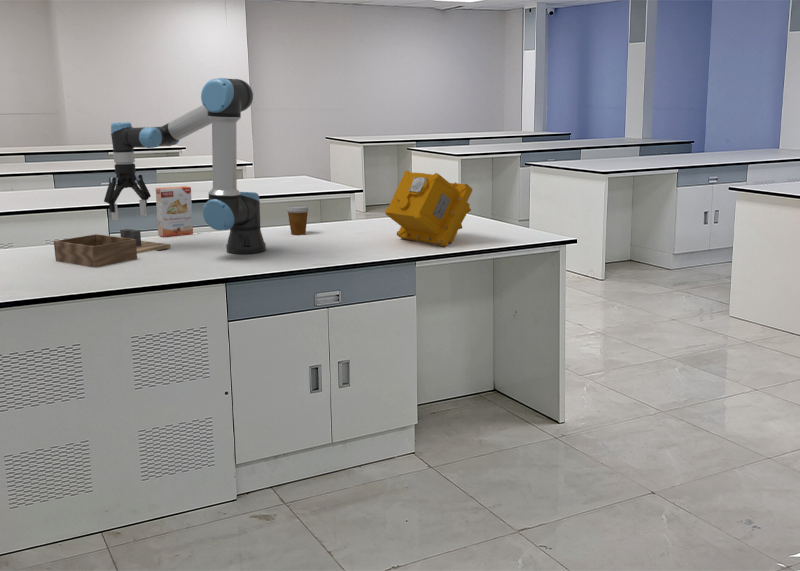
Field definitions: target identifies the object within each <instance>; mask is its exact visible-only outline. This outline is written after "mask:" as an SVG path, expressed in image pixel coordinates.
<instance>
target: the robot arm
mask: <svg viewBox="0 0 800 571" xmlns="http://www.w3.org/2000/svg"><path fill="white" fill-rule="evenodd" d="M200 95H201V96H200V99H201V104H202V105H200V106H197V107H196V108H194V109H192V110H190V111H188V112H186V113H184V114H183V115H181V116H179V117H176V118H175V119H173V120H171V121H169V122H168V123H166V124H164V125H161V126H149V127H148V126H146V127H145V126H144V127H133V126H132V123H131V122H129V121H127V122H123V121H122V122H121V121H120V122H112V123H111V125H110V135H111V142H112V154H113V163H115V164H114V173H115V175H116V177H113V176H112V177H111V176H110V177H109V179H108V182H109V183H108V187H107V189H106V193H105V196H104V198H103V202H104V203H107V204H109V212H110V213H111V220H112V221H113V222H119V212H118V210H119V209H118V203H116V201H117V200H118V198H119V196H120V195H121V193H122V191H123V190H124V189H128V188H131V189H132V190H133V191H134V192H135V194H136V195H137V196H138V197H139V198H140V199H139V210H140V211H139V212H140V217H148V214H147V207H148V200H149V198H151V194H150V191H149V189H148V187H147V186H146V183H145V182H144V178H143V175H142V174H136V172H137V170H136V164H135V162H136V160H135V151H134V148H143V149H145V148H146V149H153V148H159V147H171V146H174V145H177V144H179V142H180V140H182V139H184V138H186V137H187V136H190V135H192V134H193V133H195V132H198V131H199V130H202V129H203V128H204V129H205V127H208V126H209V125H211V136H212V137H211V142H212V143H211V146H212V147H211V148H212V149H211V150H212V152H211V153H212V155H211V156H212V159H211V160H212V188H211V189H210V191H208V200H207V201H206V202H205V204H204V205H203V208H202V217H203V219H204V221H205V223H206V225H208V226H209V227H210V228H212V229H213V230H214V231H215V230H216V231H229V234H228V238H227V243H226V246H225V248H226V250H225V251H226V252H227V253H229V254H235V255H236V254H237V255H238V254H239V255H245V254H246V255H249V254H258V253H262V252H265V251H267V246H266V245H267V244H266V242H265V241H264V237H263V233H262V230H261V211H260V210H261V205H260V204H261V201H260V195H259V194H258V193H257V192H252V191H239V190H238V188H237V187H238V186H237V184H238V183H237V182H238V180H237V179H238V178H237V177H238V176H237V172H238V170H237V164H238V163H237V160H238V157H237V153H238V152H237V123H238V121H240V120H241V116H242V115H241V113H242V112H244V111H246V110H248V109H249V107H251V105H252V103H253V100H254V92H253V89H252V87H251V86H250V85H249V84H248V82H246V81H244V80H242V79H239V78H225V77H218V78H212V79H210V80H208V81H207V82H206V83H205V84H204V86H203V87H202V90H201V92H200Z"/></svg>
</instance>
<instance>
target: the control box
mask: <svg viewBox="0 0 800 571" xmlns="http://www.w3.org/2000/svg"><path fill="white" fill-rule="evenodd" d="M472 192H473V188H472V187H471V186H470V185H469V184H468V183H458V182H456V181H455V182H449V181H448V180H446V179H445V178H444V177H443V176H441V175H440V174H439V173H437V172H435V173H434V174H432V173H423V172H411V171H409V170H405V171H404V172H403V175H402V178H401V180H400V181H399V184H398V186H397V189H395V192H394V194H393V196H392V199H391V201H390V203H389V206H388V207H386V208H385V212H384V213H385V215H386V216H387V217H388V218H390V219H391V220H392V221H394V222H395V223H396V224H397V225H399V226H400V228H399V230H398V231H397V232H396V236H397V237H399V238H401V240H406V241H407V240H408V241H412V242H416V243H423V244H429V245H433V246H439V247H445V248H446V247H448V244H453V242H454V240H455V239H456V236H457V234H458V232H459V230H462V229H463V225H462V223H463V222H464V219H465V217H466V216H467V214H468V213H469V212H471V211H472V209H471V207H470V206H471V205H470V203H469V202H468V201H469V199H470V197H471V195H472Z"/></svg>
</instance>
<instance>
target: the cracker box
mask: <svg viewBox="0 0 800 571" xmlns="http://www.w3.org/2000/svg"><path fill="white" fill-rule="evenodd" d="M155 203H156V204H155V205H156V215H157V216H156V218H157V232H158V233H157V234H158V236H160V237H162V238H168V237H167V236H169V237H177V236H178V237H179V236H185V235H193V234H194V223H193V204H192V203H193V202H192V187H190V186H188V185H187V186H186V185H184V186H166V187H155Z"/></svg>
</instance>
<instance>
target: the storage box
mask: <svg viewBox="0 0 800 571" xmlns="http://www.w3.org/2000/svg"><path fill="white" fill-rule="evenodd" d="M53 248H54V257H55V262H59V263H66V264H73V265H76V266H83V267H89V268H99V267H106V266H109V265H114V264H115V265H116V264H119V263H123V262H124V263H125V262H128V261H129V262H130V261H134V260H138V254H137V249H136V239H129V238H122V237H121V236H114V235H105V234H99V233H98V234H97V233H95V234H90V235H82V236H76V237H71V238H66V239H60V240H53Z"/></svg>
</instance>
